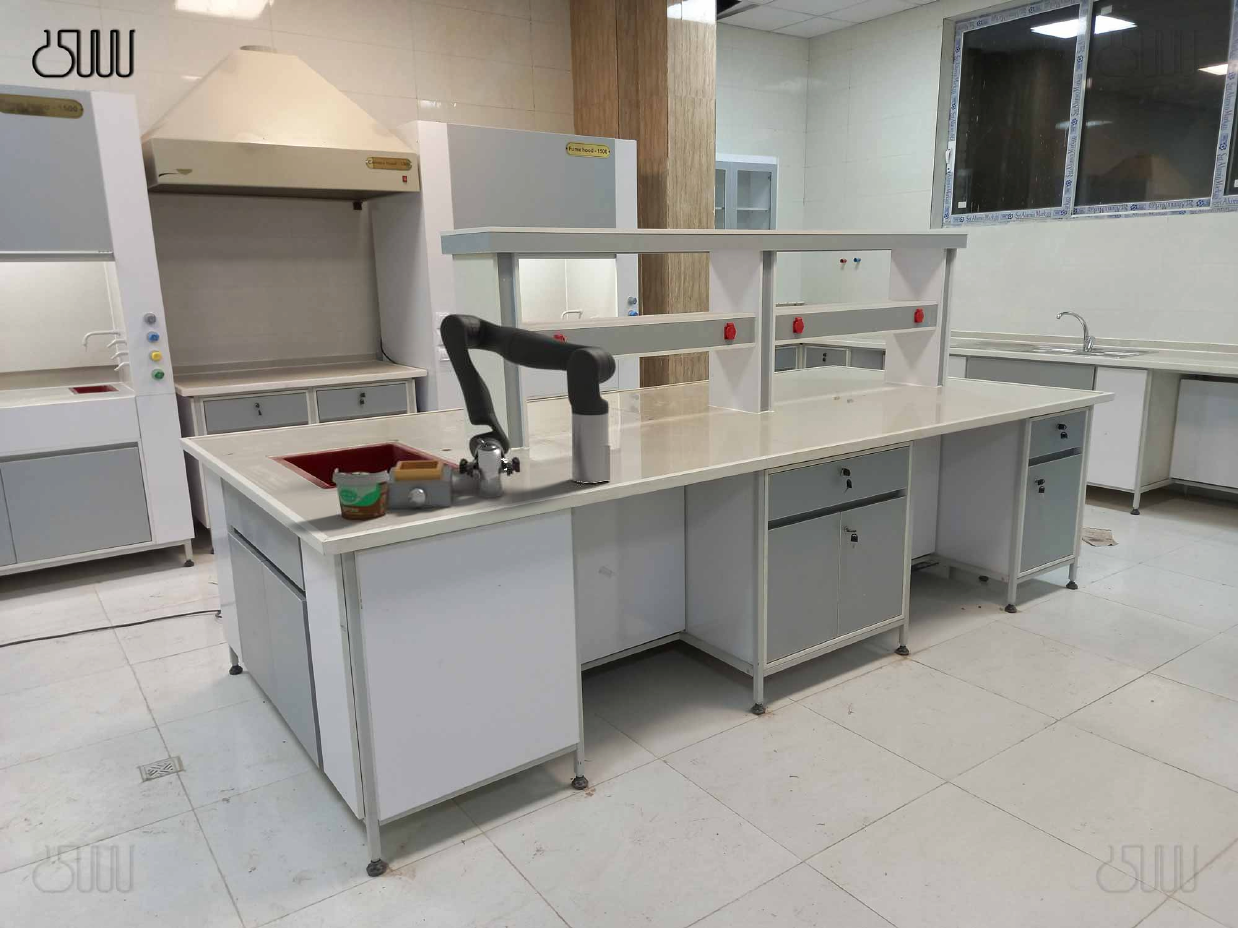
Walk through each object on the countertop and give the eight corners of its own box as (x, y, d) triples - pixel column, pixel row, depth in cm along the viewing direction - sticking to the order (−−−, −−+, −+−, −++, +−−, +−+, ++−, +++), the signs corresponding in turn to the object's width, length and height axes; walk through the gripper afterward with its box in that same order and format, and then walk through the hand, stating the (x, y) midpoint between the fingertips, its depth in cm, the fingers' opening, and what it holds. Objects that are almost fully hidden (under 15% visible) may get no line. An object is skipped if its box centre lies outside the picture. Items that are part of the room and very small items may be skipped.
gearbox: (452, 489, 206) (451, 457, 204) (449, 510, 188) (448, 475, 186) (393, 491, 204) (391, 459, 202) (384, 513, 186) (382, 477, 184)
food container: (324, 520, 180) (320, 474, 178) (338, 512, 186) (335, 467, 184) (379, 523, 178) (376, 476, 176) (391, 515, 184) (389, 470, 182)
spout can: (501, 492, 204) (500, 435, 201) (502, 498, 199) (500, 439, 196) (478, 493, 203) (477, 436, 200) (478, 498, 198) (476, 440, 195)
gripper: (460, 443, 211) (458, 457, 196) (517, 442, 213) (520, 455, 198) (461, 473, 213) (459, 489, 197) (518, 471, 215) (521, 487, 199)
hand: (490, 472), depth 198 cm, fingers open, 8 cm apart
